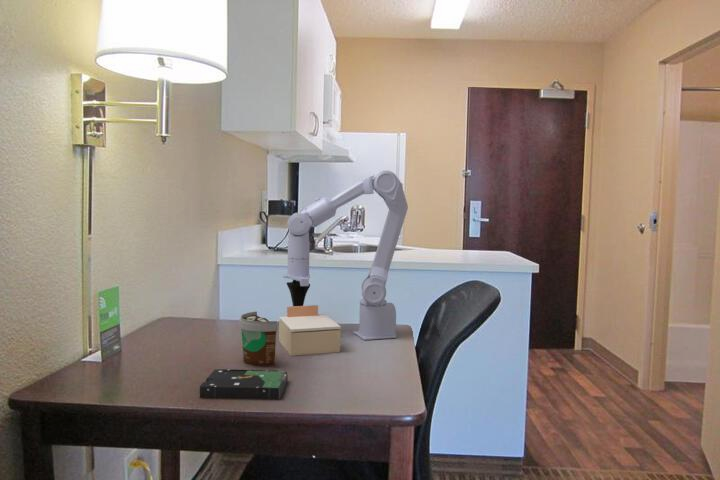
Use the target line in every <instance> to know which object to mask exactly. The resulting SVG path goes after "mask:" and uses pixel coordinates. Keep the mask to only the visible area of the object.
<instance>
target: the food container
mask: <svg viewBox="0 0 720 480" xmlns="http://www.w3.org/2000/svg"><path fill="white" fill-rule="evenodd" d="M277 322H278V321H277V320H272V321H270V320H269V319H267V318H265V317H261V316H259V315H258V311H256V310H255V311H251V312H250V311H249V312H246V313H244V314H241V316H240V318H239V321H238V325H237V326H238V328H239V329H240V330H241V344H242V354H243V363H244V364H247V365H248V366H253V367H270V366H272V367H273V366H275V361H276V359H275V358H276V346H277V343H276V341H277V332H279V328H278V323H277Z"/></svg>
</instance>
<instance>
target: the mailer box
mask: <svg viewBox="0 0 720 480" xmlns="http://www.w3.org/2000/svg"><path fill="white" fill-rule="evenodd" d="M341 330H342V329H331V330H315V331H300V332H291V331H290V330H289V329H288V328H287V327H286V326H285V325H284V324H283V323H282V322H281V321H280V319H279V320H278V342H279V343H280V344H281V345H282V347H283V348H284V349H285V350H286V352H287V353H288V354H289V355H290V356H292V357H293V356H304V355H305V356H306V355H307V356H308V355H320V354H329V353H330V354H331V353H340V352H341Z"/></svg>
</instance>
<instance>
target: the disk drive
mask: <svg viewBox="0 0 720 480" xmlns="http://www.w3.org/2000/svg"><path fill="white" fill-rule="evenodd" d="M288 374H289V373H288V371H286V370H278V369H277V370H275V369H271V370H270V369H269V370H265V369H264V370H262V369H226V368H224V369H223V368H218V369H217V368H216V369H215V368H214V370H213V371H212V372H211V373H210V374H209V375H208V376H207V377H206V379H205V381H203V382H202V383H201V384H200V385H199V398H201V399H235V400H237V399H241V400H242V399H244V400H247V399H248V400H275V401H276V400H281V398H282V395H283V394H284V390H285V389H286V386H287V383H288V382H289V381H288V380H289V378H288V377H289V376H288Z"/></svg>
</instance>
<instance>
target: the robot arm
mask: <svg viewBox="0 0 720 480" xmlns="http://www.w3.org/2000/svg"><path fill="white" fill-rule="evenodd" d="M374 191H375V192H374ZM375 193H376V194H378V195H379V197H380V198H381V199H383V201H384V203H385V204H386V206H387V209H388V212H387V215H386V219H385V223H384V225H383V228H382V232H381V235H380V239H379V241H378V245H377V248H376V252H375V254H374V259H373V261H372V263H371V267H370V270H369V272H368V275H367V276H366V277H365V279H363V282H362V283H361V296H362V299H360V300H359V319H358V321H359V324H358V325H359V326H358V329H359V330H355V331H353V333H354V334H355V335H356V336H358V337H359V338H361V339H362V340H364V341H370V340H382V339H394V338H395V339H396V338H397V333H396V332H397V311H396V310H397V309H396V306H395V305H394V304H395V303H392V302H387V300H386V296H387V289H386V285H387V281H388V276H389V270H390V268H391V264H392V261H393V257H394V254H395V252H396V251H395V250H396V249H397V248H396V247H397V244H398V241H399V238H400V235H401V231H402V228H403V224H404V223H405V222H404V221H405V219H406V215H407V212H408V207H409V206H408V201H407V199H406V195H405V192H404V188H403V184H402V181H401V180H400V179H399V177H398V176H397V175H396V174H395V173H394V172H392V171H391V170H382V171H380V172H378V173H377V174H376V175H375V174H373V175H370V176H368V177H365V178H364V179H361V180H358V181H357V182H356V183H354V184H352V185H351V186H349V187H348V188H346V189H345V190H342V191H341V192H340V193H338V194H336V195H334V196H332V198H329V197H325V196H324V197H322V198H320V197H317V198H315V199H314V200H315V201H314V202H313V203H311V204H309V205H308V206H306V207H305V208H304V207H301V208H300V209H299V211H300V212H294V213H293V214H292V215H290V216H289V218H288V219H287V222H286V228H287V229H288V231H289V232H288V236H287V237H288V241H287V274H282V277H283V279H289V280H292V282H291V281H290V282H288V281H287V282H286V285H287V288H288V290H289V294H290V298H291V301H292V302H291V303H292V306H304V303H305V299H306V295H307V293H308V291H309V289H310V287H311V284H310V278H311V274H310V249H311V248H310V244H311V243H310V237H309V236H310V234H309V233H310V232H309V231H310V229H311V228H316V227H318V226H320V225H322V224H323V223H325V222H326V221H327V222H328V221H329V220H331V219H332V218H333V217H335V215H336V214H337V209H339V208H340V207H342V206H344V205H346V204H348V203H350V202H351V201H353V200H355V199H357V198H358V197H361V196H363V195H372V194H373V195H374V194H375Z"/></svg>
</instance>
